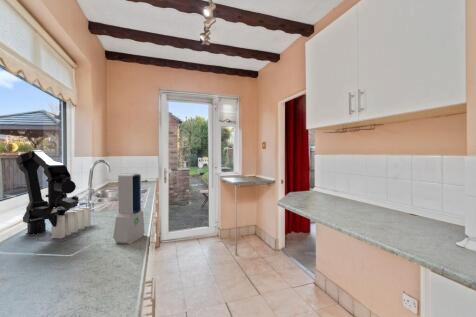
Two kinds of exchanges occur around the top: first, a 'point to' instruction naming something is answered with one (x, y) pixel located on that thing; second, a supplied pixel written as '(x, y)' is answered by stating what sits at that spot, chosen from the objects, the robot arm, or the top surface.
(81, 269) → the top surface
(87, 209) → the domino
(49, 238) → the rubber mat
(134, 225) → the electronic device
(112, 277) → the top surface
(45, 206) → the robot arm
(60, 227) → the domino
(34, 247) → the top surface
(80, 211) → the domino
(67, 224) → the domino
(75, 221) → the domino
